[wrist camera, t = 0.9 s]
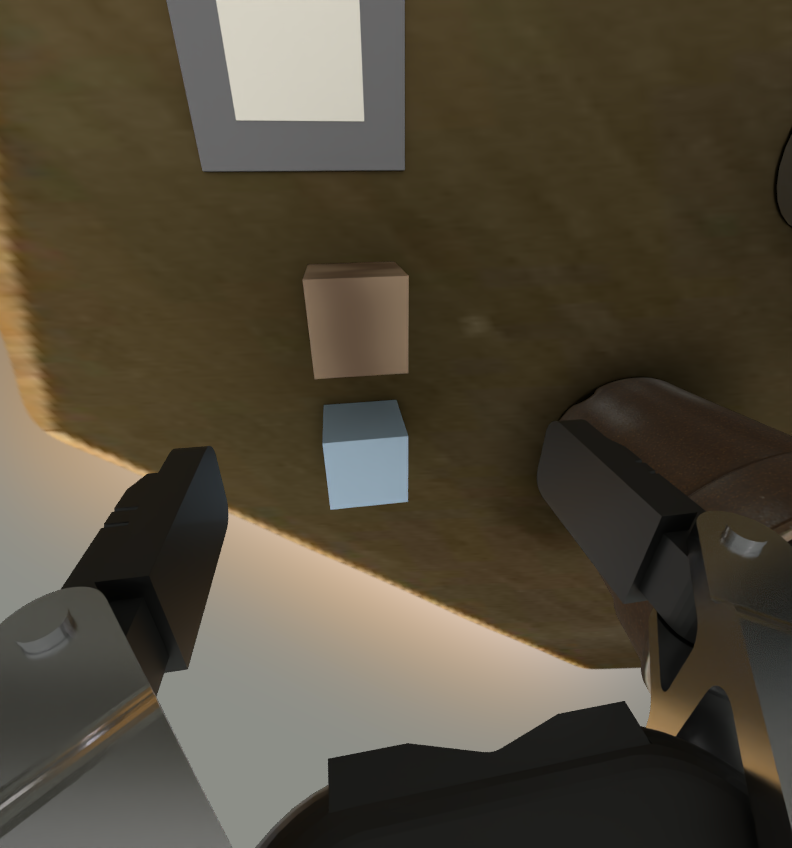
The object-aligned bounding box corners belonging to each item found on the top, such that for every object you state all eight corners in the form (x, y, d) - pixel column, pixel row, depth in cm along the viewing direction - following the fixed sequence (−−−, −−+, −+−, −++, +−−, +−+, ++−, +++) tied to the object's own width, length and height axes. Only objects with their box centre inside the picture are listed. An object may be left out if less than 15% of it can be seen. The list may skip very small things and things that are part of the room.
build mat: (402, -120, 16) (404, -132, 16) (402, 170, 21) (404, 169, 21) (140, -141, 15) (133, -155, 15) (205, 171, 20) (202, 171, 20)
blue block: (396, 399, 28) (408, 436, 24) (396, 458, 30) (407, 501, 26) (323, 404, 27) (322, 443, 23) (330, 464, 30) (330, 509, 26)
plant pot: (506, 532, 36) (616, 742, 22) (523, 362, 28) (716, 526, 14) (673, 506, 37) (876, 688, 24) (736, 338, 29) (1100, 464, 16)
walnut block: (394, 261, 24) (408, 275, 19) (395, 343, 26) (408, 373, 22) (308, 264, 23) (302, 279, 19) (317, 348, 25) (314, 379, 21)
